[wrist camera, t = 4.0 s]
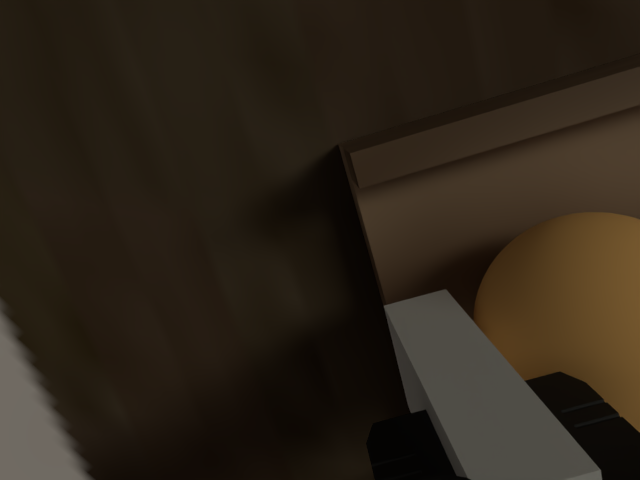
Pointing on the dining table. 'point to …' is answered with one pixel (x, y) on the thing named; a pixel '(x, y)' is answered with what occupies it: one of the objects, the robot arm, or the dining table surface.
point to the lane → (493, 177)
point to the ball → (570, 304)
